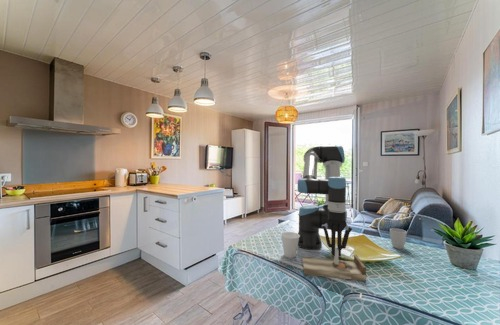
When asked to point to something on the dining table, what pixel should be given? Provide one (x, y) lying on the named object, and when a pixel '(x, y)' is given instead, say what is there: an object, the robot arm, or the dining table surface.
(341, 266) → the ball
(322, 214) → the robot arm
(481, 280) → the dining table surface
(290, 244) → the cup
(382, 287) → the dining table surface
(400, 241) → the cup
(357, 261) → the board
